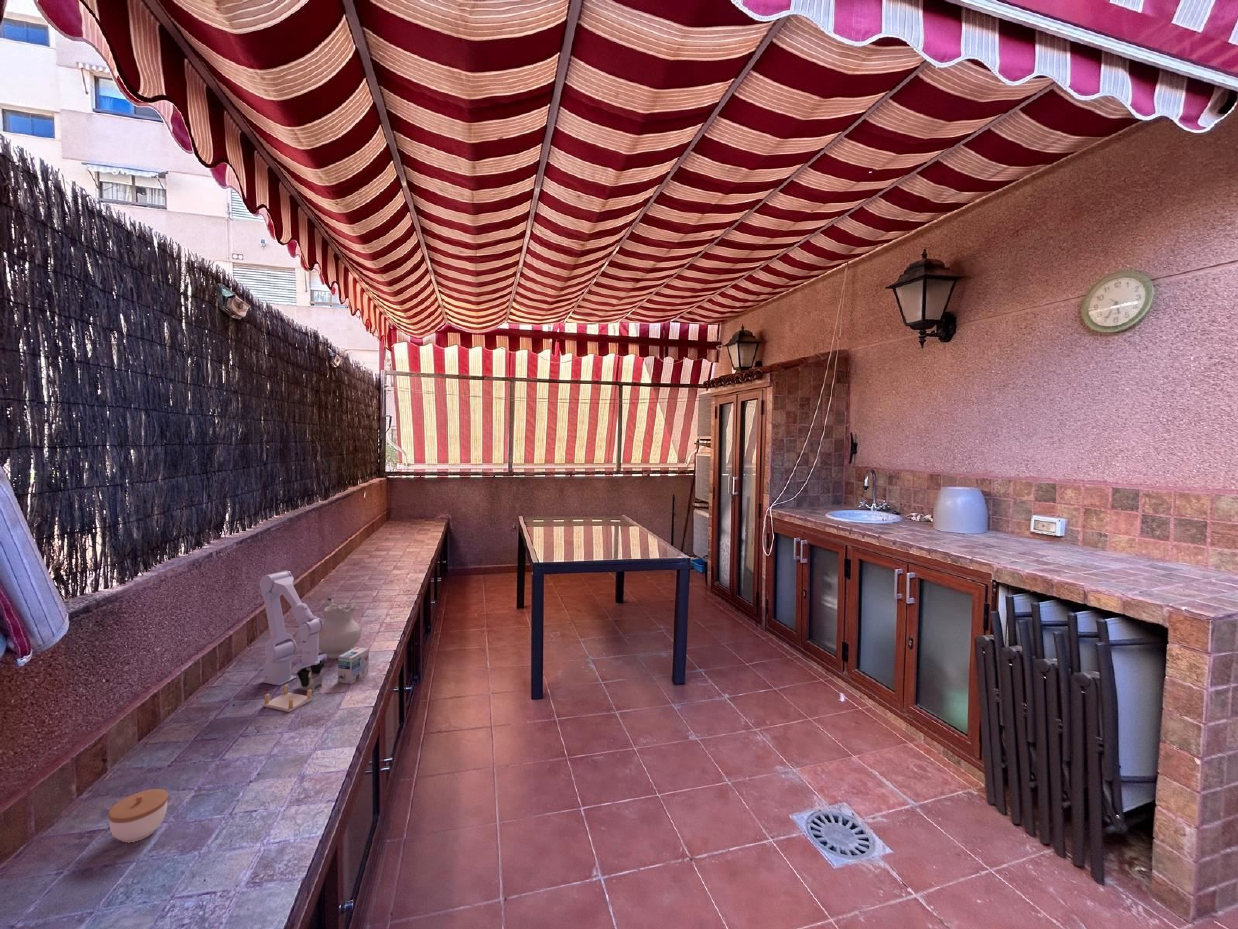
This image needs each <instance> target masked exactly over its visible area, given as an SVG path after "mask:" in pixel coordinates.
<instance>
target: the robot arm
mask: <svg viewBox="0 0 1238 929" xmlns="http://www.w3.org/2000/svg"><path fill="white" fill-rule="evenodd" d="M294 581H295V578H294V576H293V574H292V573H291V571H289V570H283V571H278V572H274V573H269V574H264V575H262V577H261V579H260V580H259V587H260V592H261V596H262V597H263V603H264V607H265V608H264V609H265V613H266V618H267V623H268V628H269V632H270V638H268V640H267V641H266V643H265V644H264V646H265V649H264V650H265V651H264V656H265V658H266V661H265V662H264V665H263V680H261V682H262V683H265V684H269V685H274V686H282V685H283V684H284V685H285V684H286V683H288V682H290V681H292V680H294V679H297V676H298V677H299V679H300V682H301V685H302V687H307V685H308V677H309V673H310V672H312V673H317V674H321V671H322V669H323V668H324V666H325V662H324V661H326V660H327V659H328V657H327V654H324V653H322V654H319V650H320V649H319V631H321V630H322V625H323V622H322V619H321V618H320V617H317V616H316V615H314V614H313V613H312V611H311V610H310V608H309V606H308V605H307V603H303V602H302V601H301V599H300V596H299V594H298V592H297V591H296V588H295V586H294ZM280 595H282V596H283V597H284V598H285V600H286V601H287V602H288V604H289V605H290V607H291V612H290V613H291V615H292V616H293V618H294V619H295V621H296V623H297V624H298V625H299V627H298V628H297V629H298V630H297V631H298V633H299V636H300V640H301V661H300V662H299V663H296V665H295V666H293V667H292V658H293V657H294V654H295V653H296V652H297V648H298V645H297V643H296V641H295V638H294V635H292V634H290V633H288V632H287V629H286V625H285V623H286V622H285V619H284V614H283V613H284V612H283V608H282V604H281V603H282V602H281V598H280ZM309 667H310V669H308V668H309ZM292 674H296V675H297V676H296V675H292Z"/></svg>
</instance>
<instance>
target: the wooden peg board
mask: <svg viewBox="0 0 1238 929" xmlns="http://www.w3.org/2000/svg"><path fill="white" fill-rule="evenodd" d="M312 693H313V692H312V690H311V689H309V690H306V695H305V694H304V695H303V694H298V693H294V692H289V684H284V686H283V694H281V695H279V696H277V697H274V698H272V699H270V695H271V694H270V693H267V694H265V695H264V703H263V706H264V708H265V707H266V708H270V709H275V710H279V711H283V712H287V713H288V712H289V713H291V712H292V711H294V710H296V709H298V708H300V707H301V706H303V705H305V704H307V703H309V702H311V701H312V700H313V695H312Z"/></svg>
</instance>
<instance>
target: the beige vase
mask: <svg viewBox="0 0 1238 929" xmlns="http://www.w3.org/2000/svg"><path fill="white" fill-rule="evenodd" d="M356 607H357V604H356V603H350V604H348V605H344V604H336V603H334V600H333V597H331V596H330V597H329V596H326V597H325V602H324V608H323V611H322V615H323V617H324V622H323V623H322V630H321V631H319V650H320V651H321V652H323V654H327V659H328V658H329V659H333V660H335V659H336V660H338V656H340V655H342V654H344V653H346V652H348V651H350V650H352V649H353V648H355V647H356V645H357V644H358V643H359V641H360V639H361V636H362V633H363V629H362V626H361V624H360V623H358V622H357V621H355V620H354V618H353V614H354V612H355V610H356Z"/></svg>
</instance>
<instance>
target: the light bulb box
mask: <svg viewBox="0 0 1238 929" xmlns="http://www.w3.org/2000/svg"><path fill="white" fill-rule="evenodd" d="M369 655H370V649H369V648H366V647H359V646H358V647H357V646H354V647H353V648H351V650H350V651H348V652H346V653H344V654H342V655H340V656H338V659H337V660H338V662H337V663H338V664H337V666H338V667H337V682H338V683H343V684H351V685H352V684H353V683H355V682H357V681H358V680H360V679H362V678H363V677H365V676H367V675H369V663H370V662H369V661H370V660H369V659H370V656H369Z"/></svg>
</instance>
